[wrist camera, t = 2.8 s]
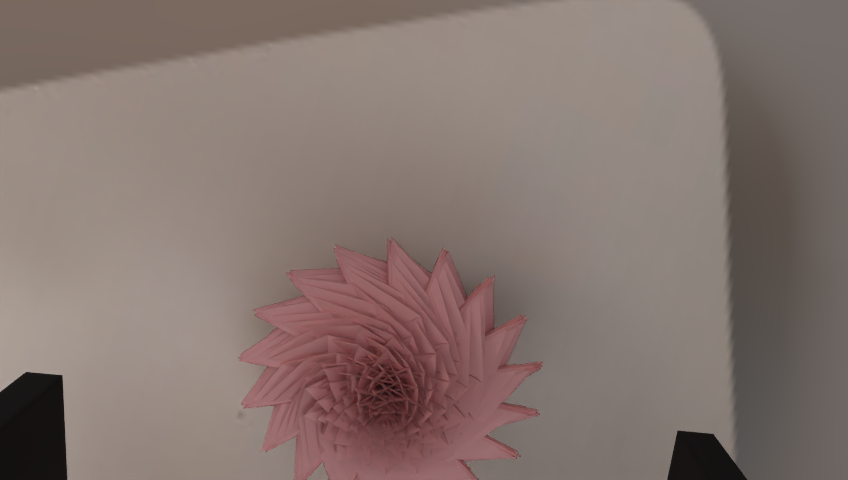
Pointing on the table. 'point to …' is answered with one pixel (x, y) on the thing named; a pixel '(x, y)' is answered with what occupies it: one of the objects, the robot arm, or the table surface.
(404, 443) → the flower
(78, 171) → the table surface
